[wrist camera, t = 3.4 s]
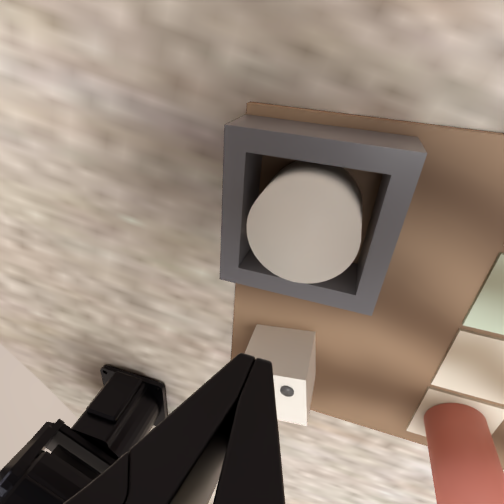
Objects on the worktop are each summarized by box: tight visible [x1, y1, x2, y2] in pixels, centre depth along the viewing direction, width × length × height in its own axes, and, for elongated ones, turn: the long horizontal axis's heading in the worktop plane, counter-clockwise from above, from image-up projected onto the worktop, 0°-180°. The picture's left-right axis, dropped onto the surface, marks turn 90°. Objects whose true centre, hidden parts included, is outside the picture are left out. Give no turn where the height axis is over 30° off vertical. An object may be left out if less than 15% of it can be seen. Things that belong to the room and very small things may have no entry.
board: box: [231, 102, 504, 470], centre depth 20 cm, size 21×21×1 cm
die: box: [245, 324, 316, 426], centre depth 22 cm, size 4×4×4 cm
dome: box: [247, 160, 363, 284], centre depth 16 cm, size 5×5×3 cm
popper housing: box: [220, 114, 427, 316], centre depth 17 cm, size 8×8×3 cm
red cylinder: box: [424, 403, 504, 504], centre depth 19 cm, size 4×4×8 cm
